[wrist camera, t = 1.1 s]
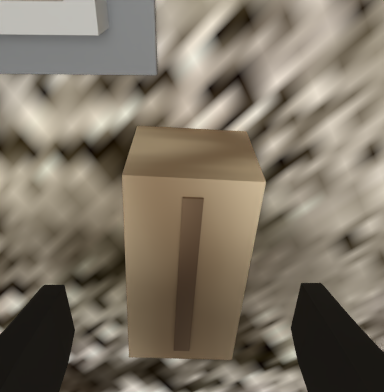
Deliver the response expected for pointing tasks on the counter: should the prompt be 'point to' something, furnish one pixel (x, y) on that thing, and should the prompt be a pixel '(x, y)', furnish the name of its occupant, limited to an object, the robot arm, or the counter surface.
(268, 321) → the counter surface
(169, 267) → the maple block
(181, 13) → the counter surface
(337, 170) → the counter surface
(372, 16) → the counter surface
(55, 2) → the board
